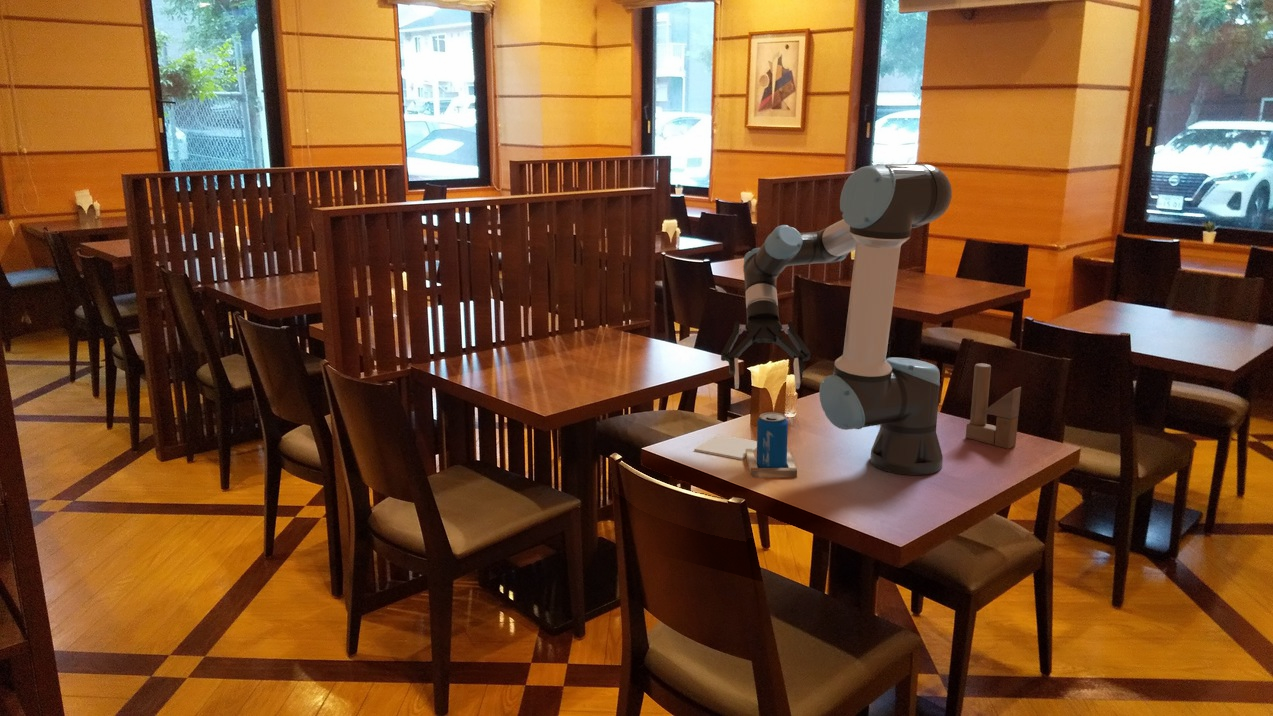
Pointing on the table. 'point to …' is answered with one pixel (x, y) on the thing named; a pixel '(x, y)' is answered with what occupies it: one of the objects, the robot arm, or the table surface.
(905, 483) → the table surface
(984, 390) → the wooden block
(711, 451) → the mat
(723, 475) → the table surface
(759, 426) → the beverage can
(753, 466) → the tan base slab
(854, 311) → the robot arm
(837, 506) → the table surface
